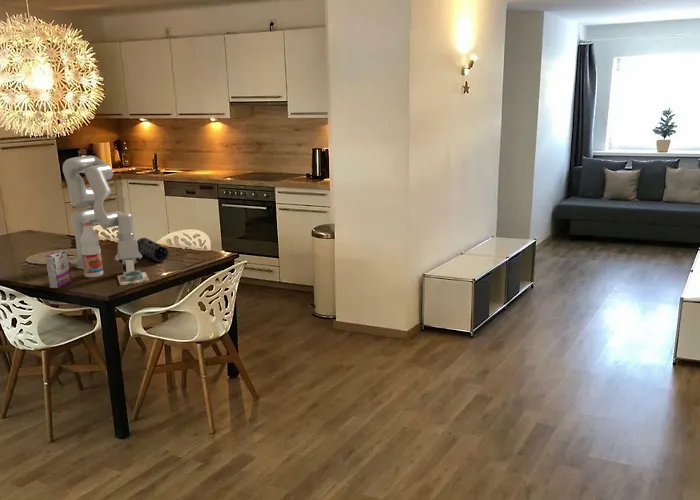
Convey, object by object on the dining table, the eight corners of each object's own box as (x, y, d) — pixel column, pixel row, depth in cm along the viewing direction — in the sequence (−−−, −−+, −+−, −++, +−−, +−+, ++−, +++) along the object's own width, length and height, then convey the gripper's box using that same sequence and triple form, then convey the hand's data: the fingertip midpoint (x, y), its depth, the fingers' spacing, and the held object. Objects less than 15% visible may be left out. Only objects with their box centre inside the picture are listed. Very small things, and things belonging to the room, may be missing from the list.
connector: (126, 274, 335) (125, 260, 333) (125, 271, 340) (124, 257, 338) (134, 273, 336) (133, 259, 335) (133, 270, 342) (132, 256, 340)
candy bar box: (62, 281, 325) (58, 250, 321) (71, 281, 324) (67, 250, 320) (49, 288, 314) (44, 256, 310) (58, 288, 313) (54, 256, 309)
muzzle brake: (153, 265, 352) (151, 247, 350) (134, 255, 374) (133, 238, 371) (170, 262, 358) (168, 244, 356) (150, 252, 379) (149, 235, 377)
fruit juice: (93, 272, 341) (87, 220, 334) (107, 273, 338) (101, 221, 331) (80, 276, 332) (73, 224, 325) (94, 278, 329) (88, 225, 322)
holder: (120, 285, 316) (119, 279, 315) (117, 277, 330) (116, 271, 330) (149, 281, 321) (148, 276, 321) (145, 273, 336) (145, 268, 335)
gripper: (110, 240, 327) (113, 274, 332) (144, 236, 333) (147, 270, 338) (109, 237, 334) (112, 270, 338) (142, 233, 340) (145, 266, 345)
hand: (130, 270), depth 338 cm, fingers closed on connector, 4 cm apart
